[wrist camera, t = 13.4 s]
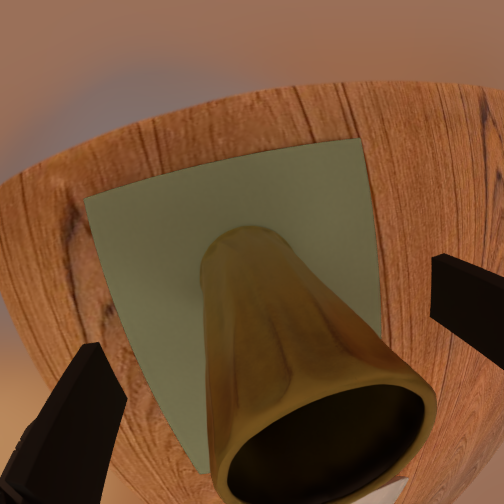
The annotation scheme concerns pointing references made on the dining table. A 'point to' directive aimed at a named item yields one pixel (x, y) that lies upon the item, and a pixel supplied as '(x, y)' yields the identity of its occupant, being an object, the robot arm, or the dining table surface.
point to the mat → (202, 236)
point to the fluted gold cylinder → (299, 382)
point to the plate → (385, 492)
